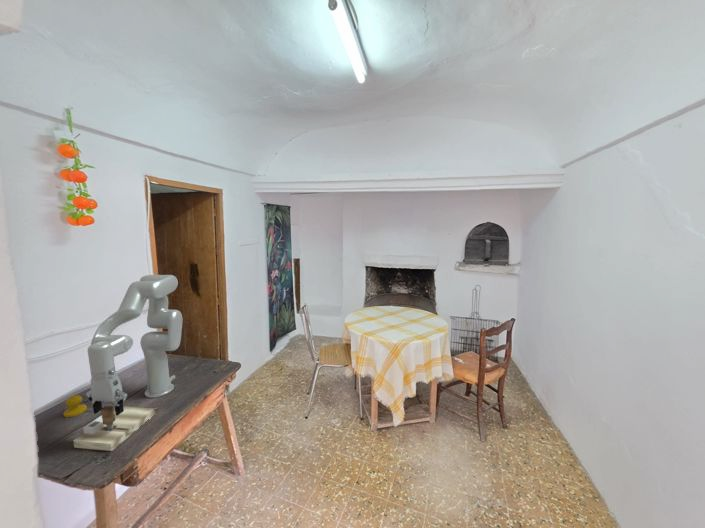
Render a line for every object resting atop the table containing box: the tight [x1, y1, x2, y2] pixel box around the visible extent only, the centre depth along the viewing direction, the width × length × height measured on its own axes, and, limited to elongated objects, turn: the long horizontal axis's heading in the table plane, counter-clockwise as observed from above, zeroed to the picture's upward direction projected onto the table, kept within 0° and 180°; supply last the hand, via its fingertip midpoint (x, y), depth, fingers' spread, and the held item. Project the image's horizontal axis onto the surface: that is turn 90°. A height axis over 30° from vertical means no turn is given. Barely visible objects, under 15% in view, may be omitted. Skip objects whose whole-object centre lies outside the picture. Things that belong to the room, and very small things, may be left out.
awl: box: [100, 404, 115, 431], centre depth 125 cm, size 4×4×12 cm
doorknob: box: [63, 394, 88, 418], centre depth 140 cm, size 8×8×8 cm
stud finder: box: [82, 414, 106, 434], centre depth 126 cm, size 8×4×2 cm, turn 173°
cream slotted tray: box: [72, 405, 156, 452], centre depth 129 cm, size 22×16×3 cm
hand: (109, 412), depth 125 cm, fingers open, 9 cm apart
